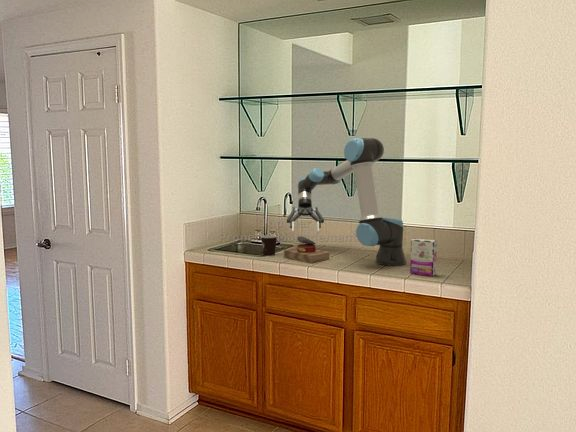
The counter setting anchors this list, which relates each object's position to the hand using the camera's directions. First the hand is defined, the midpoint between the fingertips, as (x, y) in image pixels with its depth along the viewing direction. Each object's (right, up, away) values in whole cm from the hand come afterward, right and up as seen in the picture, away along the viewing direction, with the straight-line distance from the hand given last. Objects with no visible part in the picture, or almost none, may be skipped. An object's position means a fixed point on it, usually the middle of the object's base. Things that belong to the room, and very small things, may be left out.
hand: (305, 232), depth 278 cm
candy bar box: (+54, -19, -35) cm, 67 cm away
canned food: (0, -10, -1) cm, 10 cm away
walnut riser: (0, -14, -1) cm, 14 cm away
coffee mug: (-20, -13, +12) cm, 26 cm away
